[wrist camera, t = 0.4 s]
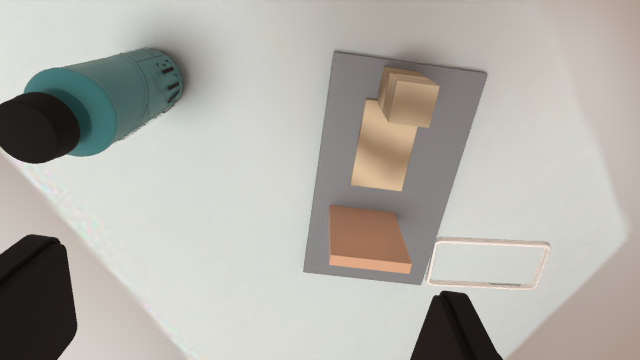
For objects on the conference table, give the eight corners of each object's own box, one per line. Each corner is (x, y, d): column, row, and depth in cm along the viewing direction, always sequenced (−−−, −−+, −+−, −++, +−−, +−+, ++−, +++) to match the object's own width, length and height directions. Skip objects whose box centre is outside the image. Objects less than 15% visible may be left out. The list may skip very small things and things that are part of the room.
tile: (329, 204, 44) (330, 254, 35) (394, 212, 45) (412, 264, 36) (327, 213, 45) (328, 265, 36) (391, 221, 45) (408, 274, 36)
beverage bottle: (115, 66, 39) (-67, 117, 21) (163, 31, 37) (11, 53, 19) (157, 118, 41) (26, 204, 23) (204, 87, 40) (102, 153, 21)
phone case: (546, 239, 48) (433, 234, 48) (552, 245, 47) (435, 240, 47) (530, 283, 51) (423, 278, 51) (535, 290, 50) (426, 285, 50)
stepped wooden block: (371, 65, 37) (383, 78, 30) (429, 73, 38) (453, 88, 30) (350, 182, 43) (355, 217, 36) (400, 188, 43) (415, 224, 36)
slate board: (333, 51, 38) (334, 52, 37) (483, 72, 39) (487, 74, 38) (303, 267, 50) (303, 272, 49) (419, 280, 50) (420, 285, 49)
